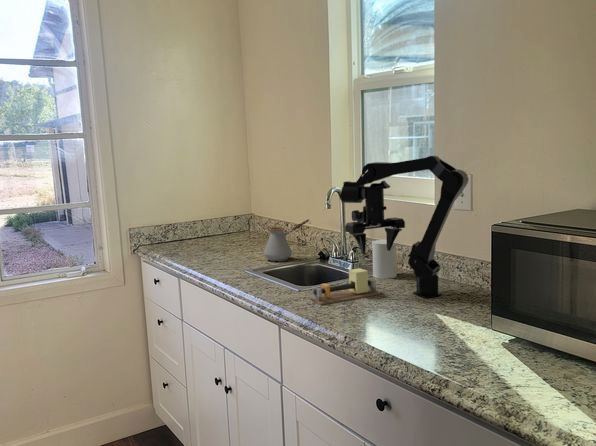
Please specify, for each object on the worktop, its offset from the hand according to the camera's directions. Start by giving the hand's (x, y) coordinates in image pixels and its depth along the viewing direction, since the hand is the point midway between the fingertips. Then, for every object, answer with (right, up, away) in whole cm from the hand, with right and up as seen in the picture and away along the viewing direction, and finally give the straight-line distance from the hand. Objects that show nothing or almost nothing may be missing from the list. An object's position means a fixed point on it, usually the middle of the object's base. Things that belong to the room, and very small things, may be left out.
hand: (376, 252), depth 179 cm
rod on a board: (-10, -13, -5) cm, 17 cm away
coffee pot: (-28, -5, +55) cm, 62 cm away
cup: (+6, -9, +19) cm, 22 cm away
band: (-16, -12, -8) cm, 22 cm away
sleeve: (-6, -13, -3) cm, 14 cm away
